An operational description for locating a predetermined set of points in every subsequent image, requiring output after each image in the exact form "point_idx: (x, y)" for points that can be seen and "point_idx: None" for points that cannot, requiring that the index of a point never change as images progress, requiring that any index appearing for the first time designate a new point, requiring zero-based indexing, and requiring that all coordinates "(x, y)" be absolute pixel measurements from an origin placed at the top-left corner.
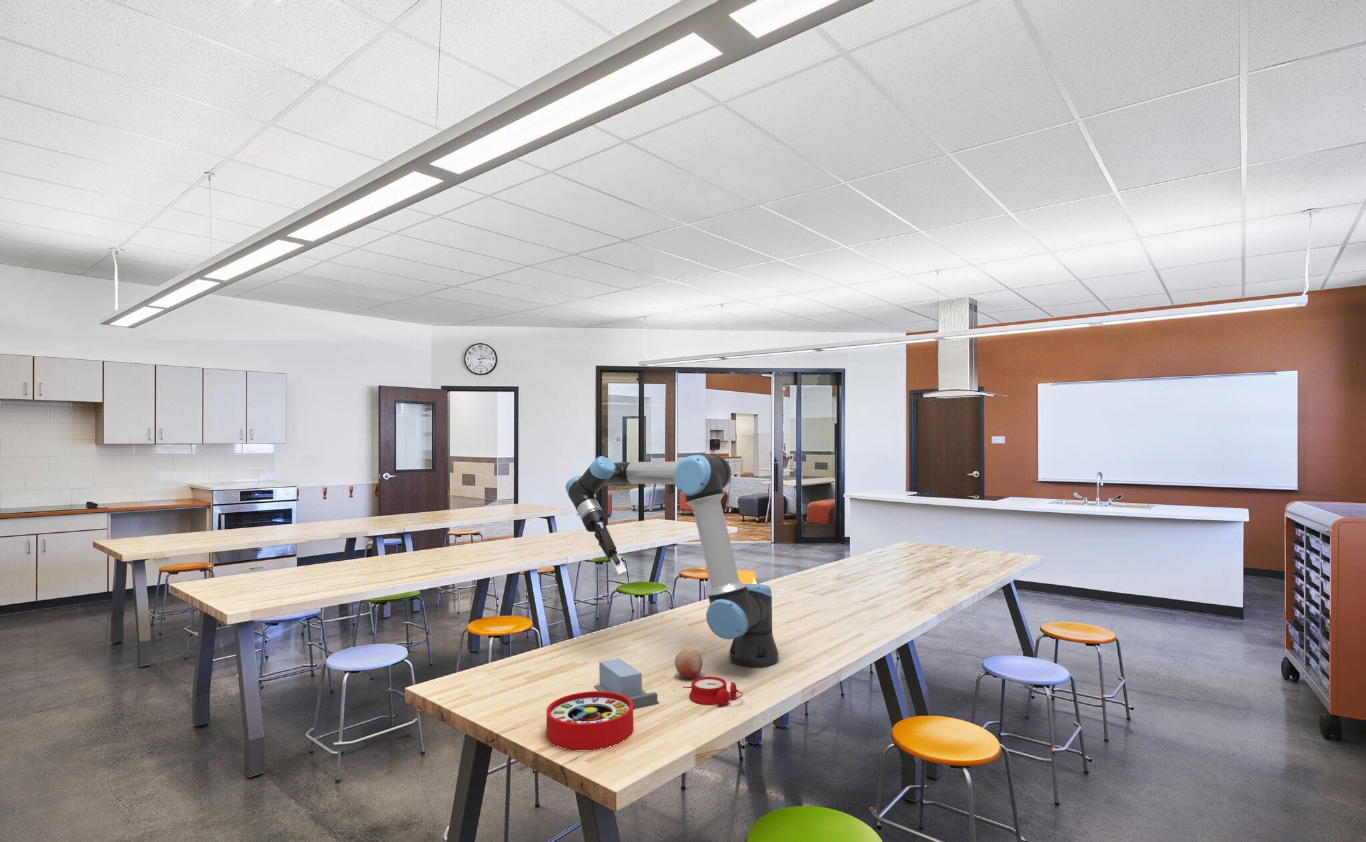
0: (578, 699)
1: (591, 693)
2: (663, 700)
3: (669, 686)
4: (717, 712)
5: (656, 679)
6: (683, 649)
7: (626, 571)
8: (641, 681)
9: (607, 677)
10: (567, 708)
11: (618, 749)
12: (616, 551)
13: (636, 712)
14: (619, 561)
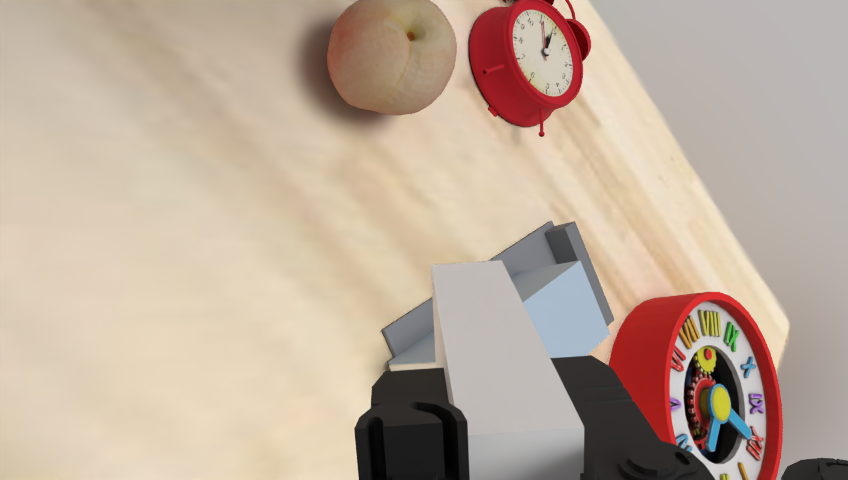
0: None
1: (669, 419)
2: (531, 206)
3: (438, 168)
4: (585, 80)
5: (375, 206)
6: (400, 47)
7: (482, 266)
8: (557, 265)
9: None
10: None
11: None
12: (694, 460)
13: None
14: (594, 368)
